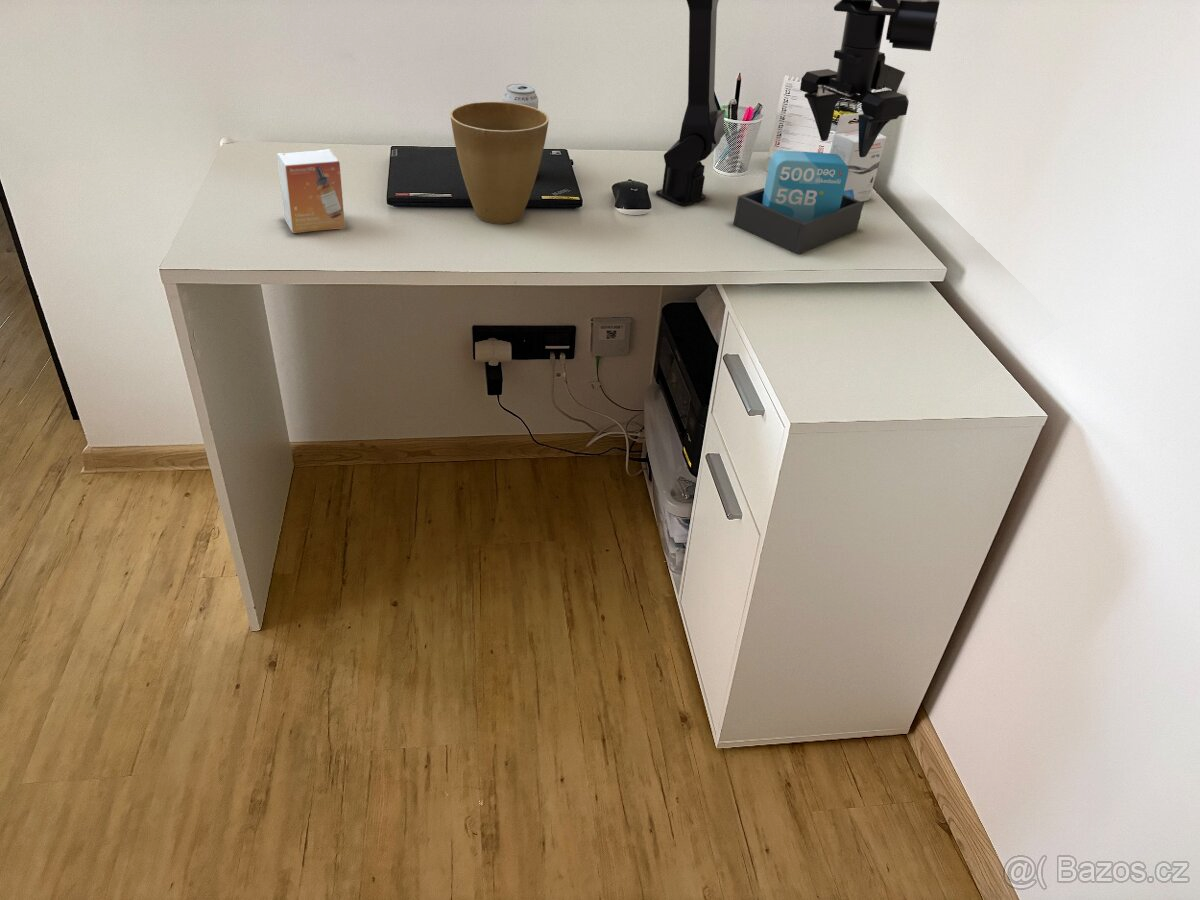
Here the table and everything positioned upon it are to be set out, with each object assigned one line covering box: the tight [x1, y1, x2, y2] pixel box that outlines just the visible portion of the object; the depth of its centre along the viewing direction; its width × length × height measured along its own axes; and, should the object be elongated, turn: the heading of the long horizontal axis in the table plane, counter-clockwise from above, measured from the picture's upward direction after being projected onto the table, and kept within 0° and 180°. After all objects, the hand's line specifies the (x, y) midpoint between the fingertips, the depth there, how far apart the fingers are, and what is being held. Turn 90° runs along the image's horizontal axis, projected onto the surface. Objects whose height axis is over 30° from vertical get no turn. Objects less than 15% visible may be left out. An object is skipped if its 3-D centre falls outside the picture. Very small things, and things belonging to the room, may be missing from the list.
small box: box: [276, 148, 346, 234], centre depth 137 cm, size 8×6×10 cm
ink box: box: [829, 112, 887, 202], centre depth 163 cm, size 8×5×15 cm, turn 123°
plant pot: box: [449, 101, 550, 225], centre depth 144 cm, size 15×15×16 cm
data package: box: [762, 149, 849, 222], centre depth 151 cm, size 12×4×12 cm, turn 93°
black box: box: [732, 187, 865, 255], centre depth 153 cm, size 14×17×5 cm
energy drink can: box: [502, 83, 539, 110], centre depth 159 cm, size 6×6×15 cm
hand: (843, 148), depth 147 cm, fingers open, 9 cm apart
